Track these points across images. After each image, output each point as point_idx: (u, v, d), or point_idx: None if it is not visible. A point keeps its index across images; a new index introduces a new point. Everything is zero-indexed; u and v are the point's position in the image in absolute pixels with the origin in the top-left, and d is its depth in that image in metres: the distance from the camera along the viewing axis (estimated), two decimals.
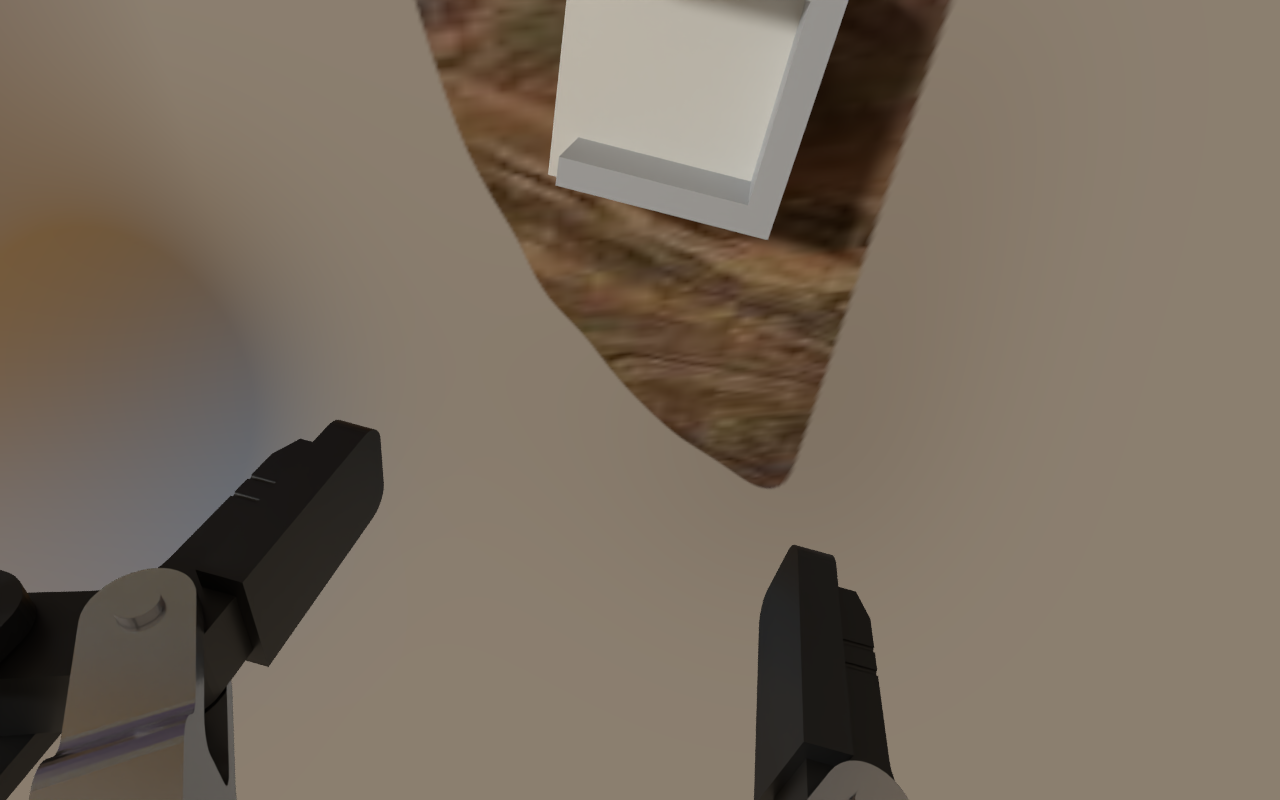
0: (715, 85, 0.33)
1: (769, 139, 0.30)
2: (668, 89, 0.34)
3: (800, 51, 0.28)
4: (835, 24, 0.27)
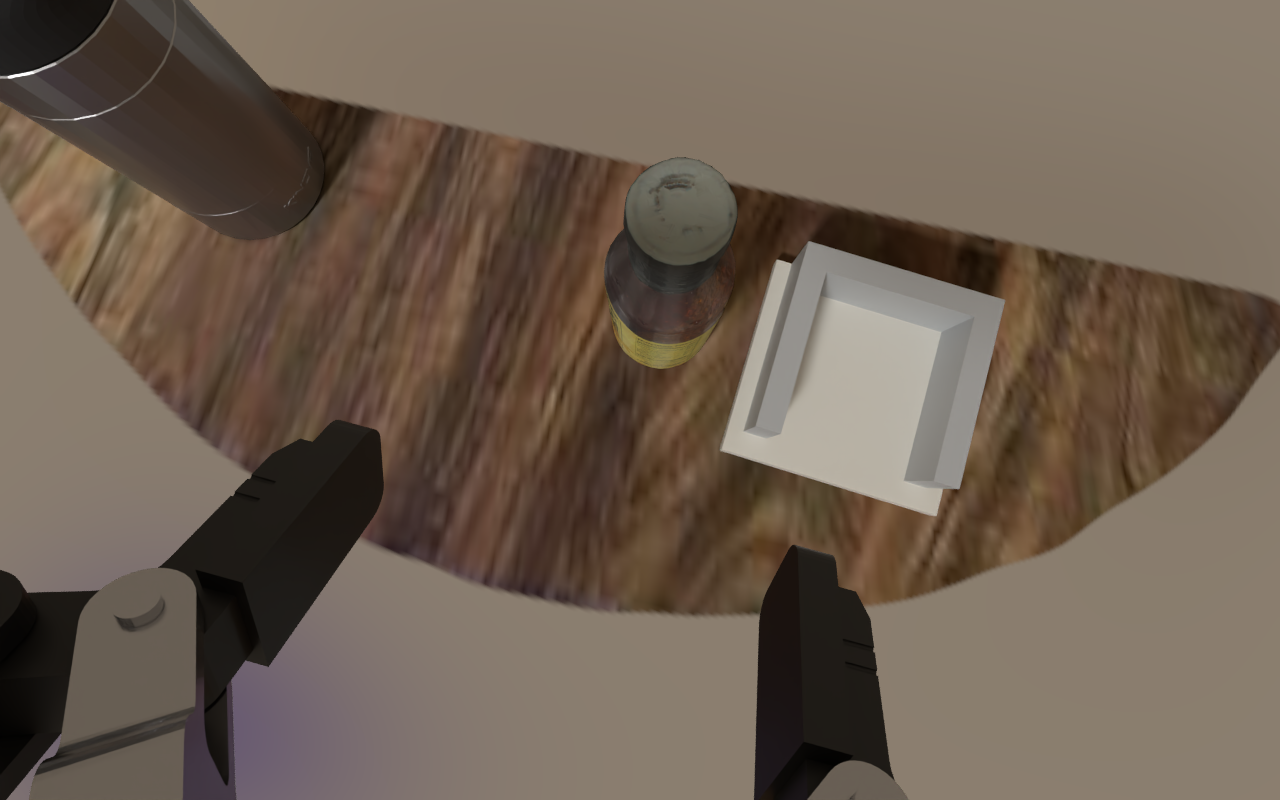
0: (865, 359, 0.41)
1: (920, 299, 0.37)
2: (867, 397, 0.41)
3: (858, 277, 0.37)
4: (841, 254, 0.38)
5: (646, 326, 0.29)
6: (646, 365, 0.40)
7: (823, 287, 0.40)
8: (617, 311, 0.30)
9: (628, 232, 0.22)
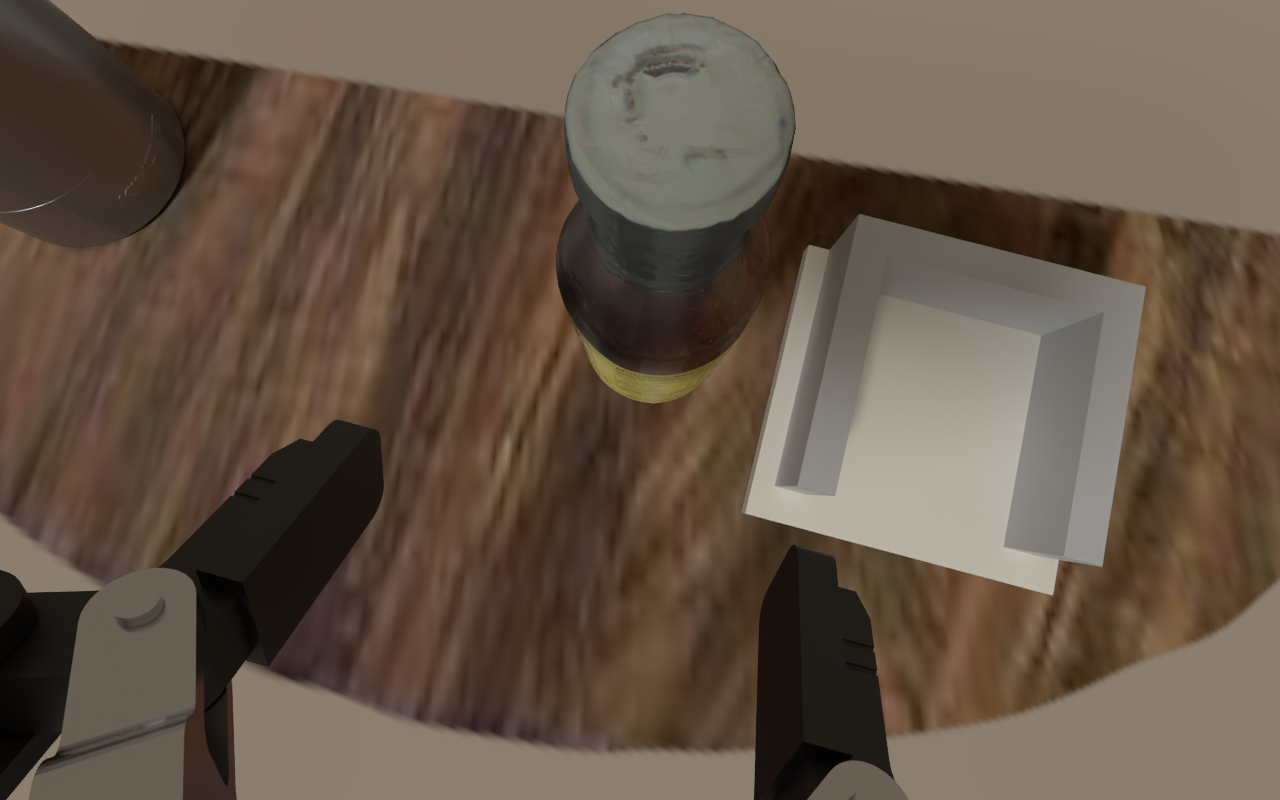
0: (939, 377, 0.29)
1: (1024, 290, 0.26)
2: (944, 430, 0.29)
3: (933, 263, 0.26)
4: (907, 230, 0.26)
5: (626, 350, 0.17)
6: (634, 399, 0.28)
7: None
8: (580, 327, 0.19)
9: (573, 168, 0.11)
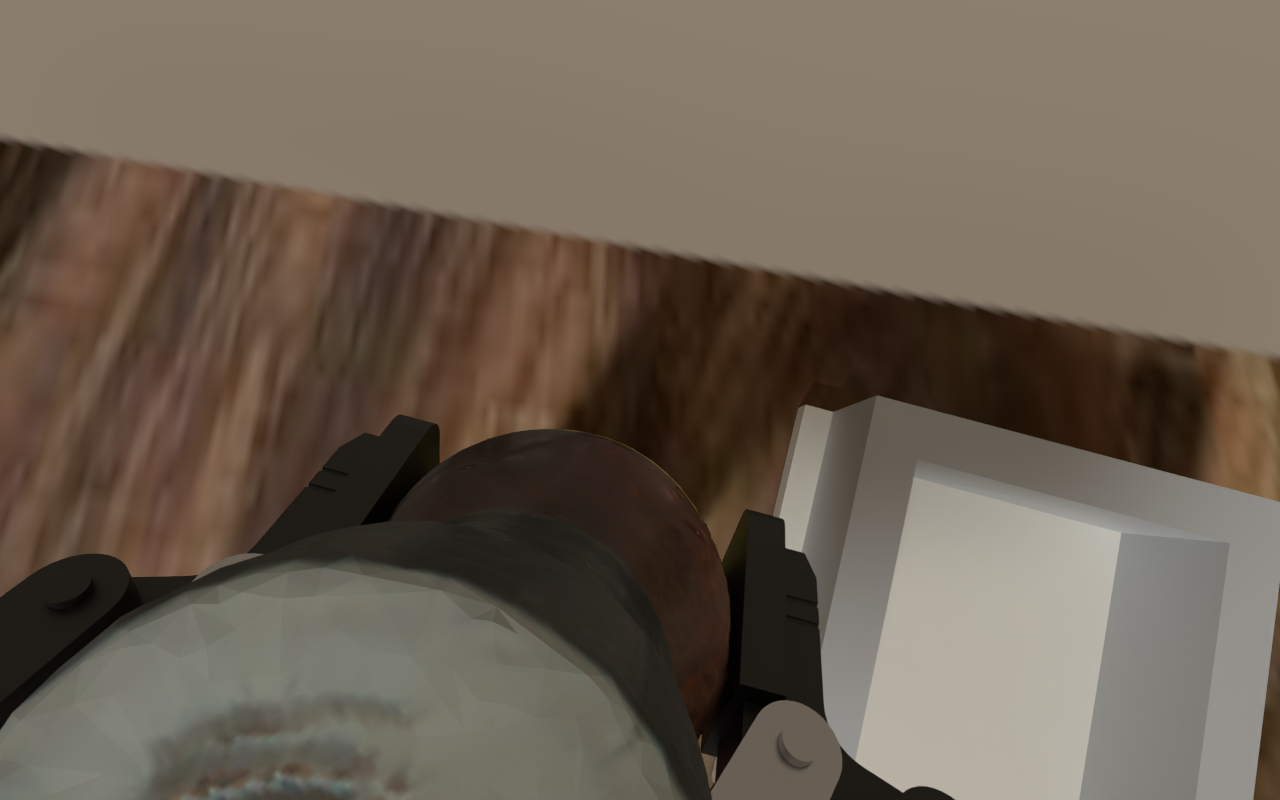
0: (982, 592, 0.21)
1: (1114, 510, 0.18)
2: (990, 669, 0.21)
3: (983, 469, 0.18)
4: (945, 420, 0.18)
5: None
6: None
7: None
8: None
9: None
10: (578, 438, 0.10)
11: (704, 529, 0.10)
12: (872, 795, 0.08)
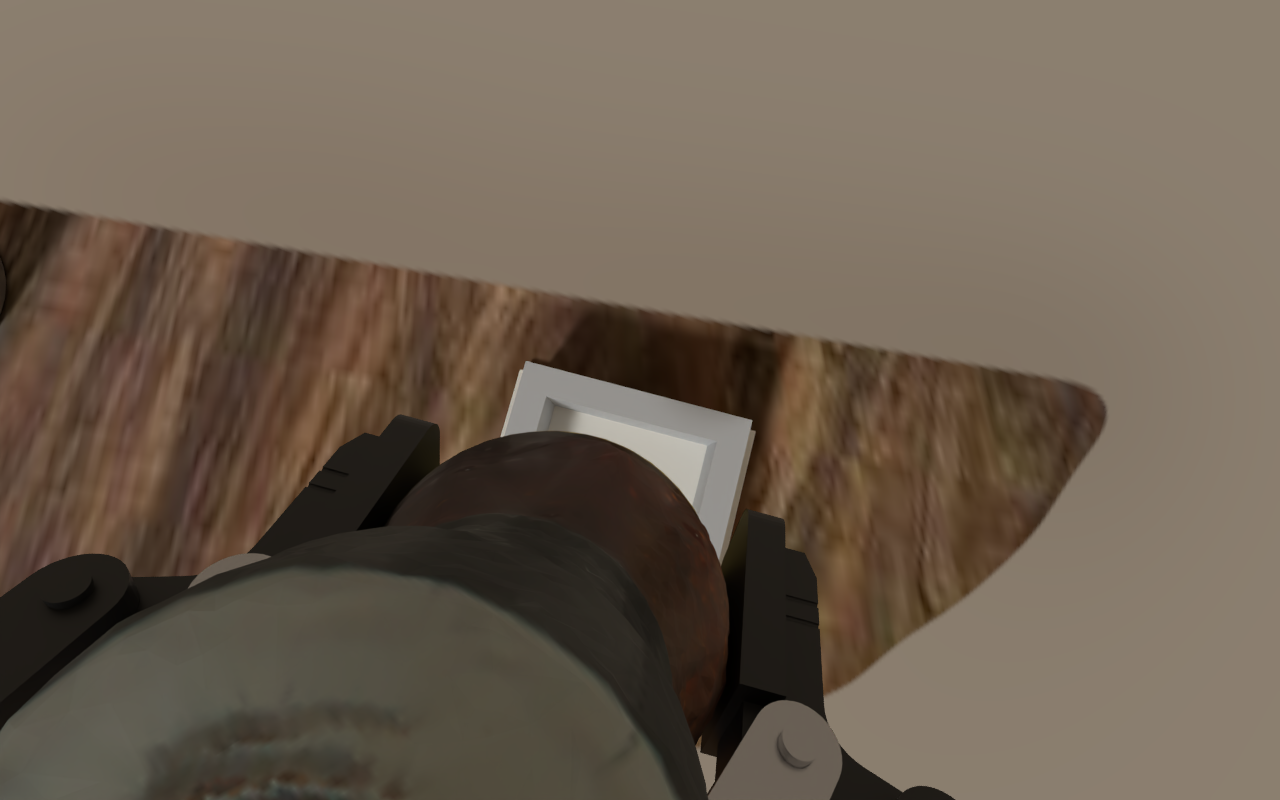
0: None
1: (654, 423, 0.32)
2: None
3: (582, 401, 0.32)
4: (564, 374, 0.33)
5: None
6: None
7: (562, 405, 0.35)
8: None
9: None
10: (577, 440, 0.10)
11: (703, 531, 0.10)
12: (872, 795, 0.08)
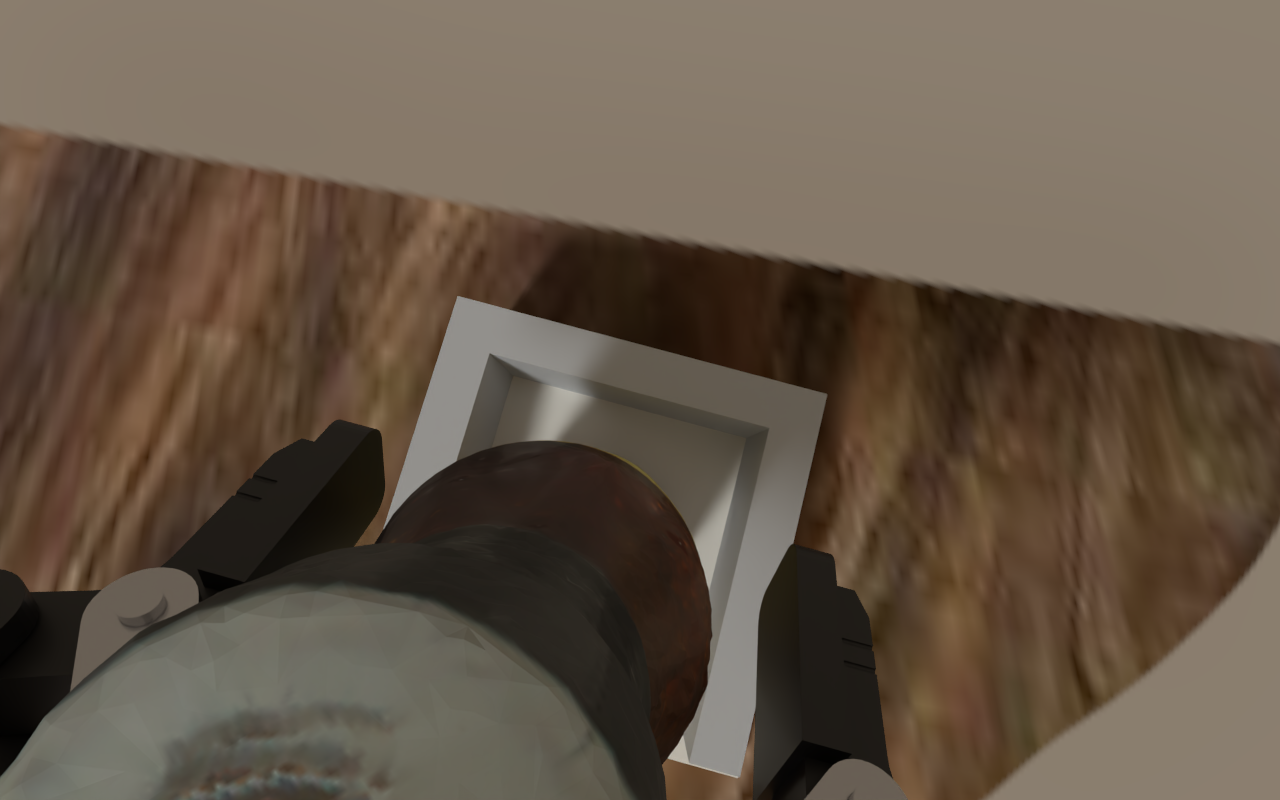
0: None
1: (666, 399, 0.20)
2: None
3: (549, 362, 0.20)
4: (519, 318, 0.20)
5: None
6: None
7: (521, 372, 0.22)
8: None
9: None
10: (567, 451, 0.11)
11: (687, 539, 0.10)
12: None
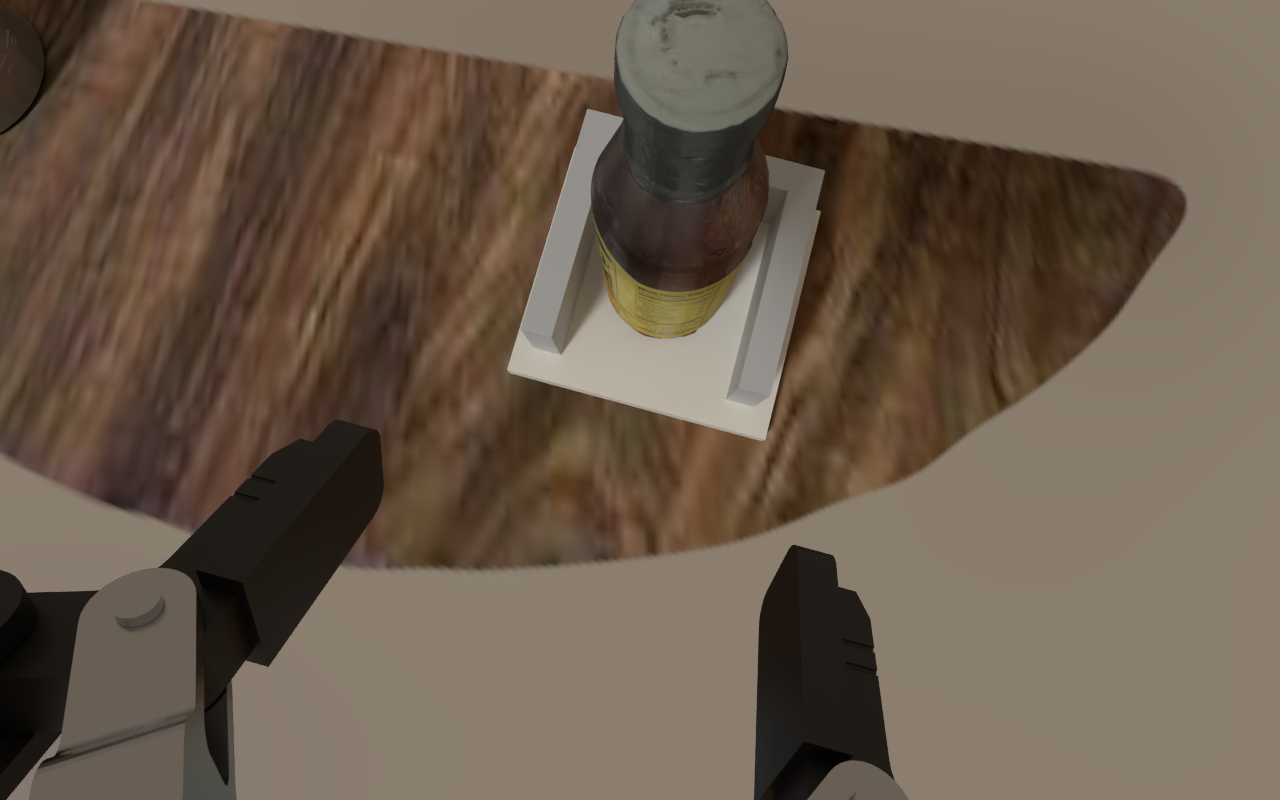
0: None
1: None
2: None
3: None
4: None
5: (650, 260, 0.21)
6: (649, 334, 0.32)
7: None
8: (610, 247, 0.22)
9: (621, 86, 0.15)
10: None
11: None
12: None
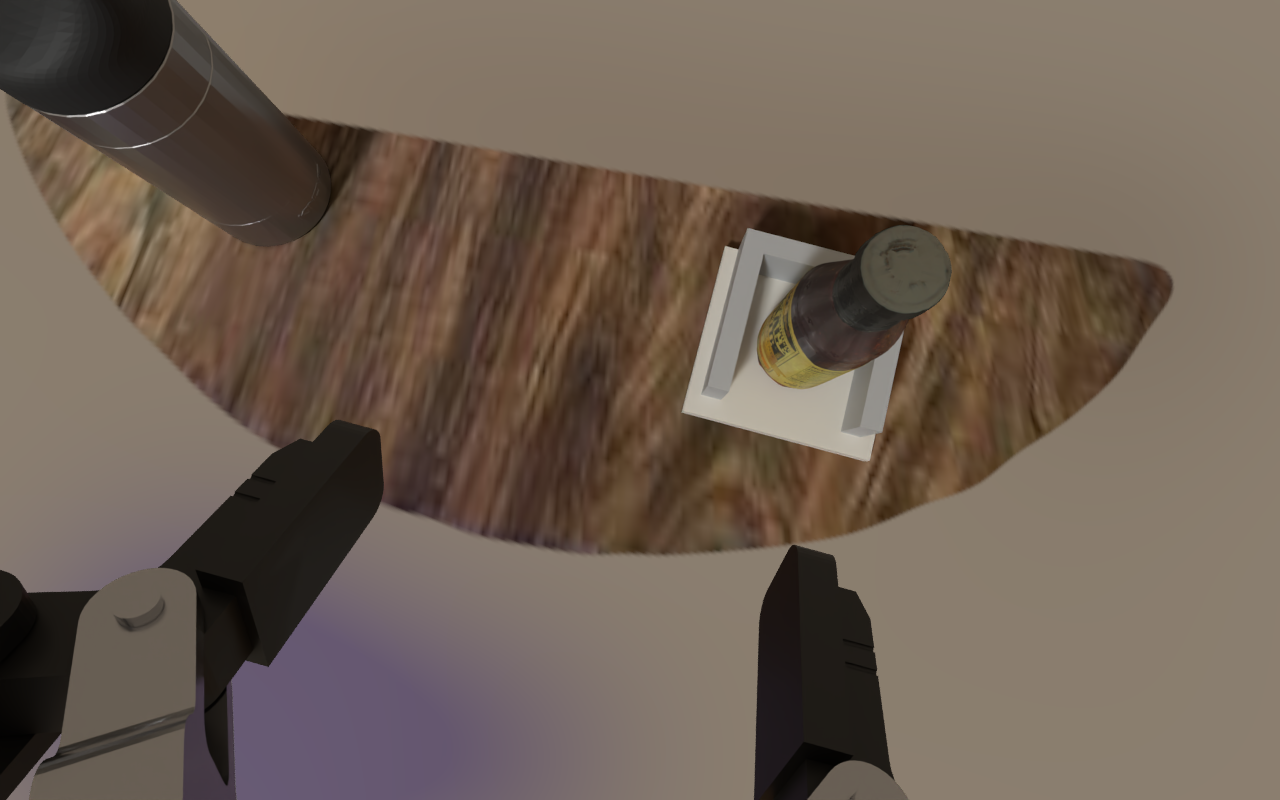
0: None
1: None
2: None
3: (790, 257, 0.44)
4: (776, 238, 0.44)
5: (837, 358, 0.34)
6: (789, 386, 0.45)
7: (764, 268, 0.46)
8: (802, 345, 0.35)
9: (863, 287, 0.28)
10: None
11: None
12: None
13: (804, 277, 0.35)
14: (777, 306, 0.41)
